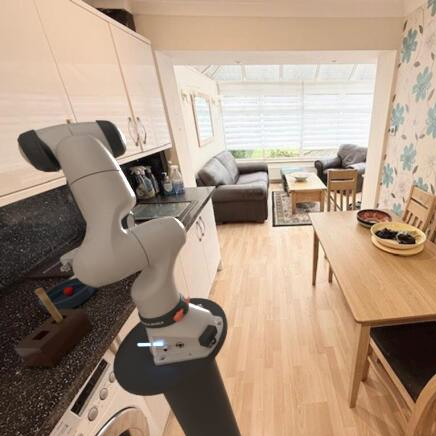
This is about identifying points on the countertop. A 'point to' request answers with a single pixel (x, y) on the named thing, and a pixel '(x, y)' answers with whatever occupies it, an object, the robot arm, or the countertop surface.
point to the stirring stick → (49, 305)
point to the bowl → (68, 301)
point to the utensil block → (54, 338)
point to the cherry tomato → (68, 291)
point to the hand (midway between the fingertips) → (76, 269)
